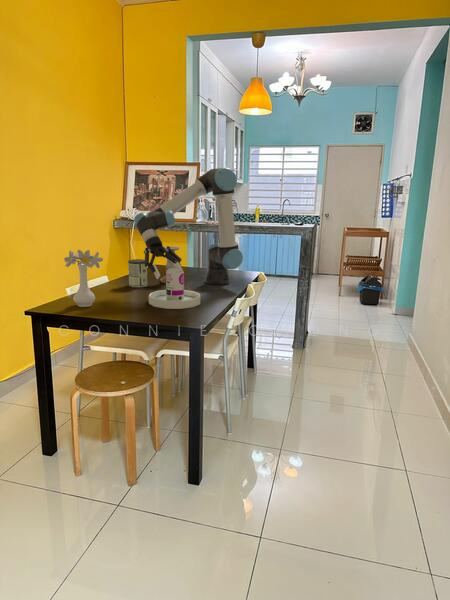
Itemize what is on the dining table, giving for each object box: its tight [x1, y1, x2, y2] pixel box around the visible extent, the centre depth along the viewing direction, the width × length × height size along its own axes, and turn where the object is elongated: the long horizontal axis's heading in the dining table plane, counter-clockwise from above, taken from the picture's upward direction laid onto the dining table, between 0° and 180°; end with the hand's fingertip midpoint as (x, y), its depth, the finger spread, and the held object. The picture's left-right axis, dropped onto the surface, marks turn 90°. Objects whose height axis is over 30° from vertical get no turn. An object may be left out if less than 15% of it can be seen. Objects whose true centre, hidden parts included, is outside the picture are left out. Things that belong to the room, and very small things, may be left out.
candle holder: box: [159, 246, 180, 284], centre depth 241 cm, size 12×12×20 cm
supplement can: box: [165, 267, 185, 301], centre depth 193 cm, size 8×8×15 cm
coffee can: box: [127, 258, 148, 288], centre depth 228 cm, size 10×10×14 cm
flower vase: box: [63, 249, 104, 308], centre depth 182 cm, size 13×18×25 cm
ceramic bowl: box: [148, 289, 201, 310], centre depth 195 cm, size 24×24×4 cm
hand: (170, 275), depth 194 cm, fingers open, 13 cm apart
